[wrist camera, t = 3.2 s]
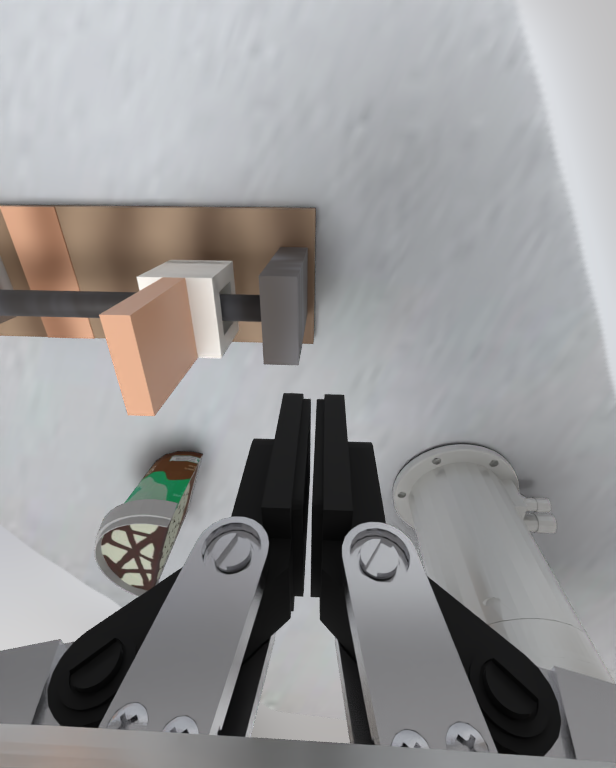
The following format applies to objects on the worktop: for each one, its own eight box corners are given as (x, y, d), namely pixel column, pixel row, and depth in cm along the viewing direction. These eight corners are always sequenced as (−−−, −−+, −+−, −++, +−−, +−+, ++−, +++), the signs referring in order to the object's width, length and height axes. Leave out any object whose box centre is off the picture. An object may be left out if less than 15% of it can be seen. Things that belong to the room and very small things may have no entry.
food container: (146, 425, 37) (90, 501, 28) (205, 443, 38) (168, 522, 29) (134, 504, 43) (84, 587, 34) (185, 518, 44) (149, 603, 35)
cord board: (315, 207, 26) (306, 225, 16) (314, 336, 31) (305, 411, 21) (-54, 204, 28) (-273, 218, 18) (0, 328, 32) (-146, 395, 22)
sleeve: (232, 260, 23) (166, 316, 14) (239, 329, 25) (185, 417, 16) (170, 259, 23) (63, 313, 14) (182, 328, 25) (97, 413, 16)
